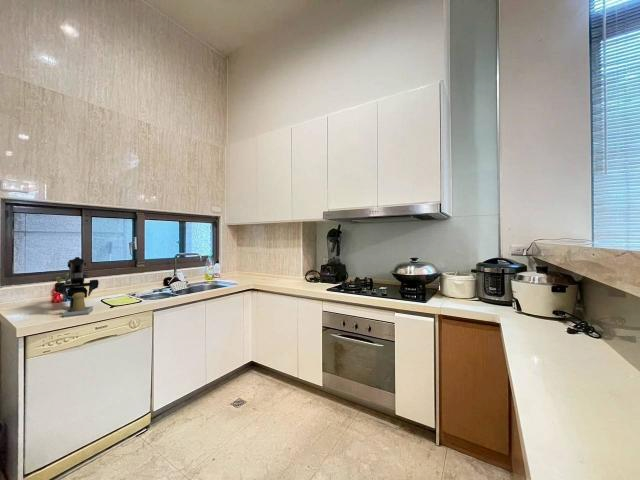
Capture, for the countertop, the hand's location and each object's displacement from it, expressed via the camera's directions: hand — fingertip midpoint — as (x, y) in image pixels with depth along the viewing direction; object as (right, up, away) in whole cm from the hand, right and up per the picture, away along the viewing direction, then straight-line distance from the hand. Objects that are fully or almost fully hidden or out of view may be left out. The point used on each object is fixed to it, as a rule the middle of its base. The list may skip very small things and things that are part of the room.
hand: (78, 297), depth 149 cm
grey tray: (+2, -9, -2) cm, 9 cm away
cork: (+2, -8, -2) cm, 9 cm away
